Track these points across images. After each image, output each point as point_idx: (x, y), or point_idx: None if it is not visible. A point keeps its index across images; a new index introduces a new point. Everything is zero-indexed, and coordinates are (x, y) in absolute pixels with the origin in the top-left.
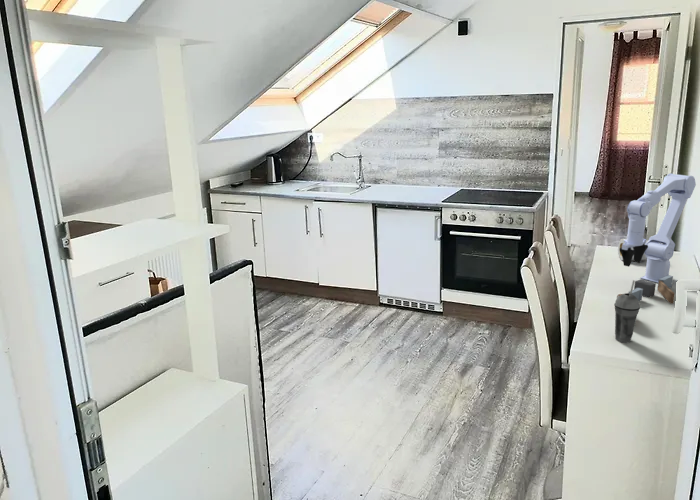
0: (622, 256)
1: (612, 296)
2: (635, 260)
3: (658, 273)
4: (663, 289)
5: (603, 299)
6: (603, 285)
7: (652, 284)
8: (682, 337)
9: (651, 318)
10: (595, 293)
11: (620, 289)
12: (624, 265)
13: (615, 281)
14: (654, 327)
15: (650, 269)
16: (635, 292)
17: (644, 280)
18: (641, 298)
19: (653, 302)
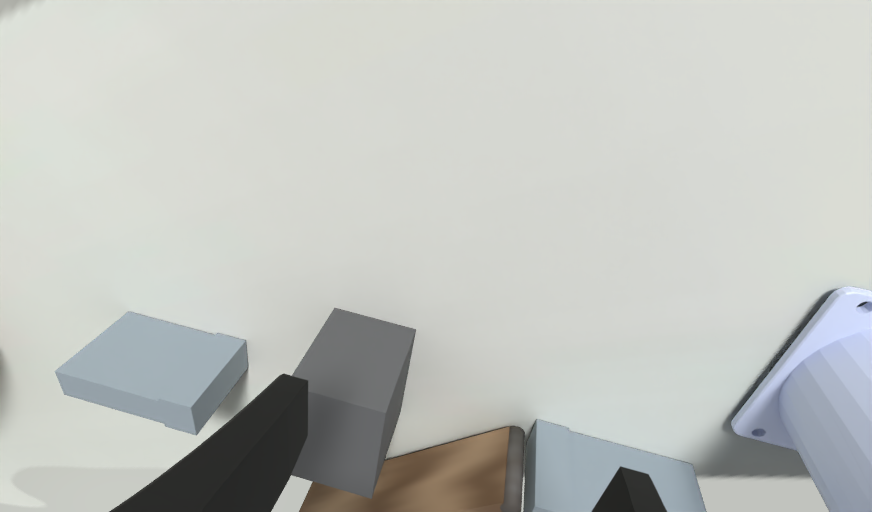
0: (114, 510)
1: (142, 203)
2: (615, 507)
3: (819, 489)
4: (405, 493)
5: (31, 169)
6: (333, 23)
7: (326, 482)
8: (37, 499)
9: (71, 423)
10: (68, 58)
11: (346, 207)
12: (278, 382)
13: (574, 86)
14: (9, 436)
15: (861, 463)
16: (104, 400)
17: (380, 438)
18: (236, 375)
19: None
